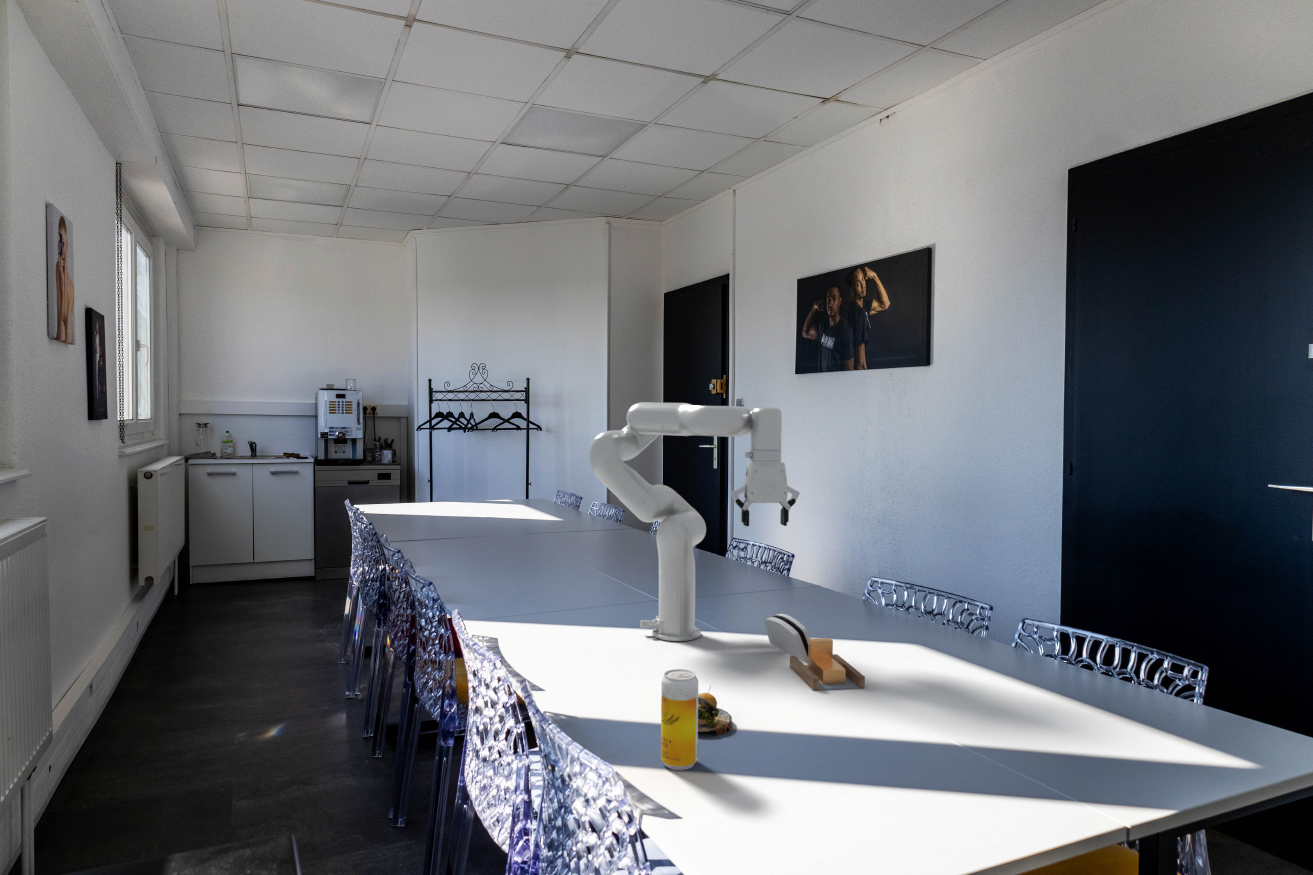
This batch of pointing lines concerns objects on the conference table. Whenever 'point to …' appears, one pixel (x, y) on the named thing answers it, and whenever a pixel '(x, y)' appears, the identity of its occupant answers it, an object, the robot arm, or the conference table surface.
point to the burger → (712, 715)
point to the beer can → (679, 719)
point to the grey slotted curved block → (788, 635)
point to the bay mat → (838, 685)
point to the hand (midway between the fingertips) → (764, 525)
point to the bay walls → (814, 680)
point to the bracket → (824, 661)
